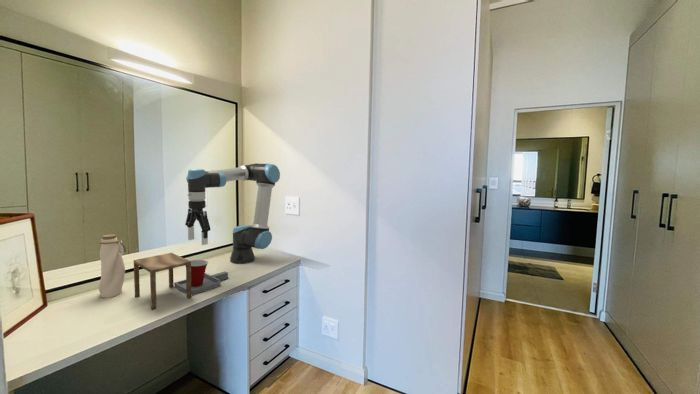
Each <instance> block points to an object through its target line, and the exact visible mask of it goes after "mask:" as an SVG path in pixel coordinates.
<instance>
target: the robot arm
mask: <svg viewBox="0 0 700 394" xmlns="http://www.w3.org/2000/svg"><path fill="white" fill-rule="evenodd" d="M280 178H281V172H280V169H279V168H278V166H277V165H276V164H275V163H274V164H273V163H250V164H246V165H240V166H238V167H233V168H232V167H231V168H222V169H215V170H214V169H213V170H205V169H203V168H200V169H199V168H190V169H188V171H187V175H186V182H187V190H188V191H187V193H188V194H187V198H188V202H187V203H188V204H187V205H188V209H187V216H186V219H185V226H186V228H187V240H188V241H192V240H195V225H194V224H195V222H196V221H198V224H199V226H200V229H201V231H200V232H201V234H200V235H201V246H206V245H208V244H209V240H208V239H209V237H208V235H209V234H208V233H209V231H211V226H210V222H209V218H208V213H207V210H205V211H204V209H205V208H206V188H208V189H210V188H211V189H212V188H222V187H224V186H226V184H227V182H234V181H244V182H245V181H250V182H251V181H252V182H255V183H256V185H257V194H256V202H255V208H254V216H253V223H252V224H248V225H247V224H243V225H239V226H238V225H237V226H235V227H233V228H232V229H233V230H232V252H231V254H230V257H229V261H230V263H231V264H237V265H242V264H243V265H245V264H249V263H252V262H254V261H255V260H256V259H255V253H254V250H253V249H254V248H255V249H257V250H258V249H259V250H264V249H267V248H268V247H269V246H270V244H271V243H272V240H273V235H272V233H271V231H270V226H269V224H268V223H269V216H270V215H269V213H270V207H271V200H272V198H271V197H272V191H273V188H274V187H275V186H276V183H278V182H279V181H280Z"/></svg>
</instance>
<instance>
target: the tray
mask: <svg viewBox="0 0 700 394" xmlns="http://www.w3.org/2000/svg"><path fill="white" fill-rule="evenodd" d="M228 279H229V272H227V271H222V272H218V273H215V274H211V275H210V274H209V273H207V272H205V275H204V280H203V284H202V285H201V286H198V287H191V296H193V295H196V294H198V293H202V292H206V291H208V290H212V289H215V288H219V287H221V284H222V283H221V281H223V280H228ZM173 284H174V287H173V288H175V289H177V290H179V291H180V292H182V293H184V294H186V295H187V292H186V279H182V280H179V281H175V282H173Z"/></svg>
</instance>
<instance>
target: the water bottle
mask: <svg viewBox="0 0 700 394" xmlns="http://www.w3.org/2000/svg"><path fill="white" fill-rule="evenodd" d="M98 244H99V245H101V246H100V249H99V259H100V266H101V267H100V281H99V283H98V291H99V295H100V297H101V298H112V297H116V296H119V295H121V294H122V292H123V285H124V282H125V277H126V276H125V274H126V267H125V262H124V259H123V257H122V256H123V255H124V253H126V252H127V251H126V250H127V248H126V246H125V244H123V241H122V239H120V240H119V239H118V237H117V235H116V234H113V233H112V234H104V235H102V236H101V239H100V240H99V242H98Z"/></svg>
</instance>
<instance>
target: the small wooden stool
mask: <svg viewBox="0 0 700 394" xmlns="http://www.w3.org/2000/svg"><path fill="white" fill-rule="evenodd" d="M185 265H186V266H185ZM184 266H185V273H186V274H185V278H186V279H185V280H186V292H187V294H186V299H191V298H192V295H191V261H190V260H188V259H187V258H184V257H182V256H180V255H177V254H175V253H174V252H168V253H163V254H159V255H153V256H149V257H143V258H138V259H133V279H134V281H133V282H134V284H133V285H134V297H135V298H139V297H141V293H140V292H141V291H140V287H141V285H140V267H141V268H142V269H144V270H145V271H147V272H149V279H150V280H149V281H150V282H149V283H150V288H149V289H150V310H151V311H154V310H157V307H158V306H157V277H156V275H157V274H156V273H158V272H163V271H166V270H168V287H169V288H170V289H171V288H175V287H174V269H175V268H179V267H184Z"/></svg>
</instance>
